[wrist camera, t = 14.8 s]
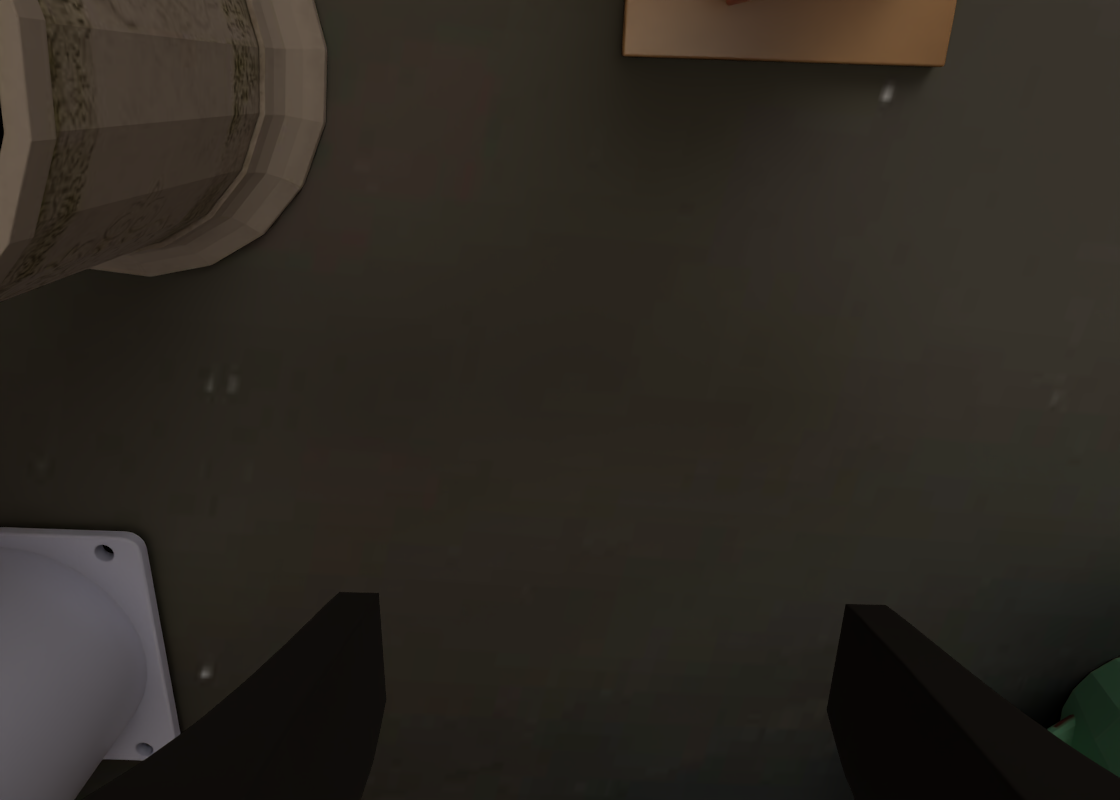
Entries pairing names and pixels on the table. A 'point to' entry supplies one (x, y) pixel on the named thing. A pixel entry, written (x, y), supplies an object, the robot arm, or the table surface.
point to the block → (735, 2)
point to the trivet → (791, 31)
